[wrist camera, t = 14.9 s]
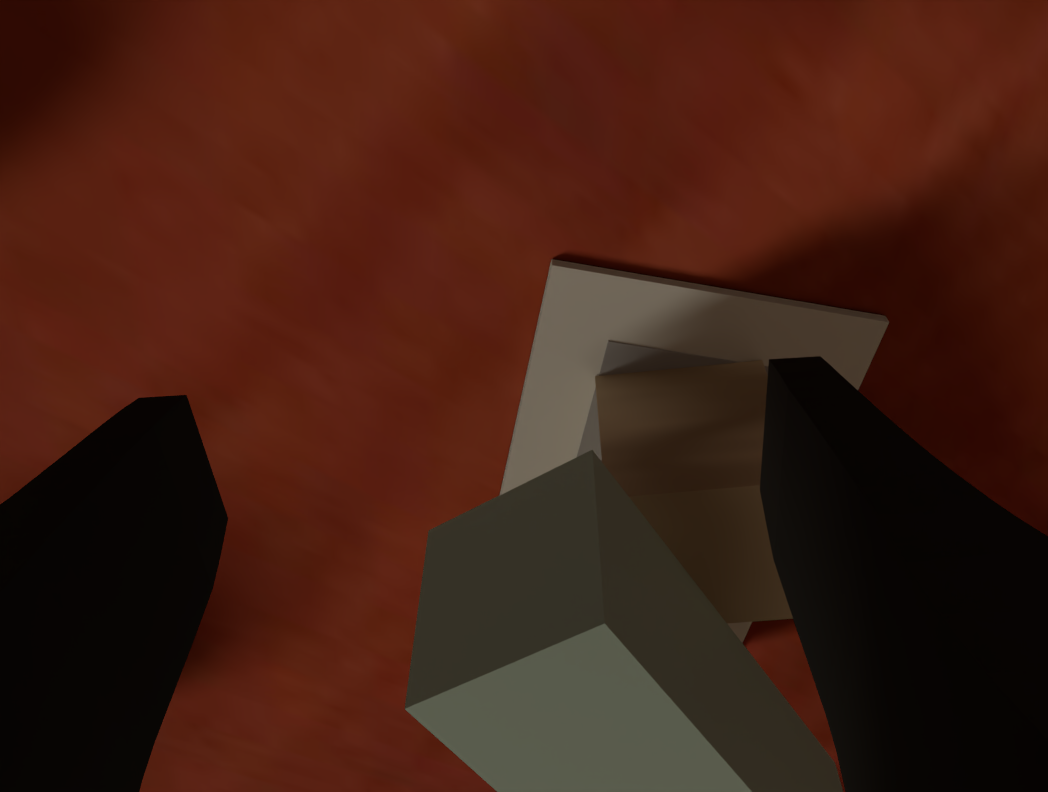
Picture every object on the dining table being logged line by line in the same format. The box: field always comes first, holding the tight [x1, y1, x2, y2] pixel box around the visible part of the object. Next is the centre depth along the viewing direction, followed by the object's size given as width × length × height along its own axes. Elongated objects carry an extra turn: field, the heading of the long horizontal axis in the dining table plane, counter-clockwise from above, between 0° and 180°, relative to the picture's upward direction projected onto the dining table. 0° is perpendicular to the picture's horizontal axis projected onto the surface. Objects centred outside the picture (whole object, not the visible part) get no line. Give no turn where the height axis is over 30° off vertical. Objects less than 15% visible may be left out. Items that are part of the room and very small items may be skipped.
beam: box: [405, 450, 843, 792], centre depth 21 cm, size 4×12×4 cm, turn 33°
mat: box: [499, 259, 889, 643], centre depth 27 cm, size 8×15×1 cm, turn 170°
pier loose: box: [595, 360, 793, 623], centre depth 23 cm, size 4×4×4 cm
